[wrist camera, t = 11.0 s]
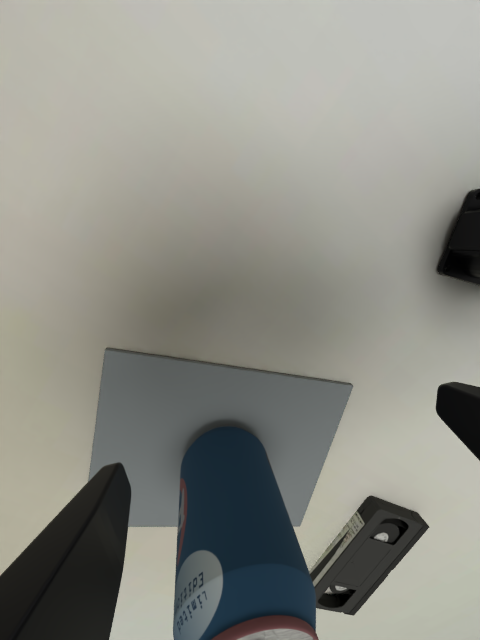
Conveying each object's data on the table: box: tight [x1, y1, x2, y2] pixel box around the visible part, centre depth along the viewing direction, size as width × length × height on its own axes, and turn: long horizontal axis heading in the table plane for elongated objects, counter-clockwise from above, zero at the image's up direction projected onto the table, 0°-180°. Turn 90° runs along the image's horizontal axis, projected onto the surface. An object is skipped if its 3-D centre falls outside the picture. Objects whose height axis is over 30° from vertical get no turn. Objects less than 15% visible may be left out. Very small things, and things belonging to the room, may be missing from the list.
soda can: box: [173, 426, 318, 640], centre depth 16 cm, size 7×7×12 cm
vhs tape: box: [309, 496, 429, 615], centre depth 29 cm, size 14×8×2 cm, turn 149°
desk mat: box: [88, 348, 353, 527], centre depth 22 cm, size 20×16×1 cm
